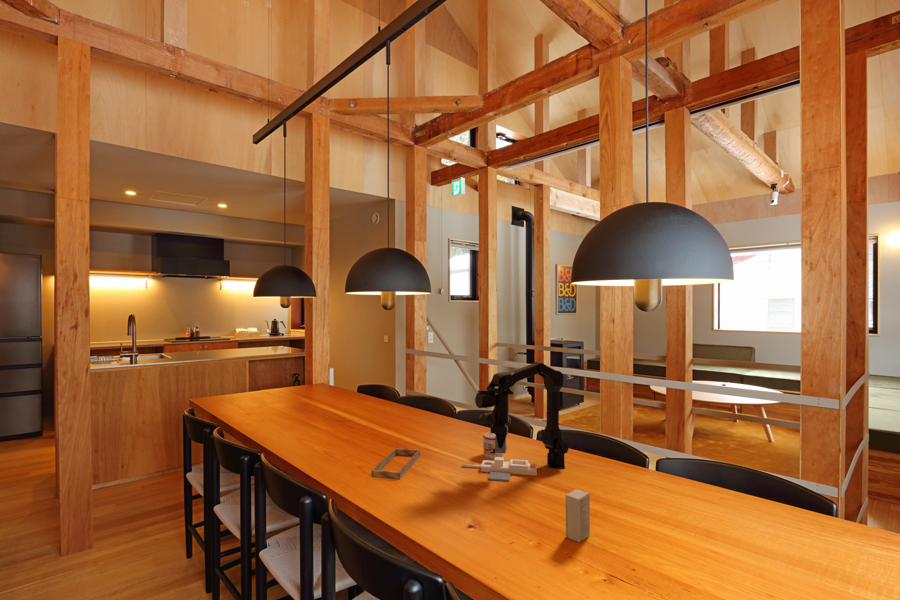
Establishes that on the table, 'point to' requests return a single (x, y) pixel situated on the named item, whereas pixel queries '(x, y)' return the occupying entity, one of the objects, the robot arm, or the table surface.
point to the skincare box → (577, 515)
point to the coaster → (499, 476)
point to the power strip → (507, 466)
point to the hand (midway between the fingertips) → (500, 446)
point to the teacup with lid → (490, 445)
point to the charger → (500, 450)
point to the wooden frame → (396, 451)
